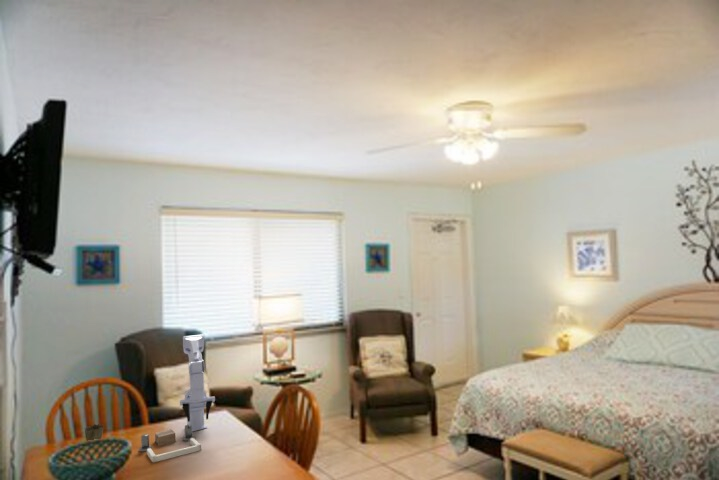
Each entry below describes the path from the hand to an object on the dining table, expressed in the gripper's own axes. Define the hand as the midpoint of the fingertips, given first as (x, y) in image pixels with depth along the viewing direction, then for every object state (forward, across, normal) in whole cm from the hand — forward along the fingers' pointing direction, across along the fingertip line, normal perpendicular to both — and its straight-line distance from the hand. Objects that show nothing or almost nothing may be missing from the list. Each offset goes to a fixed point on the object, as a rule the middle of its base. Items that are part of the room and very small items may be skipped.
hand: (198, 419), depth 209 cm
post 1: (+10, -22, -1) cm, 24 cm away
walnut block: (+10, -15, +6) cm, 19 cm away
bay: (+9, -9, -9) cm, 16 cm away
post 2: (+10, -5, +5) cm, 12 cm away
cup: (+10, -46, +14) cm, 49 cm away
